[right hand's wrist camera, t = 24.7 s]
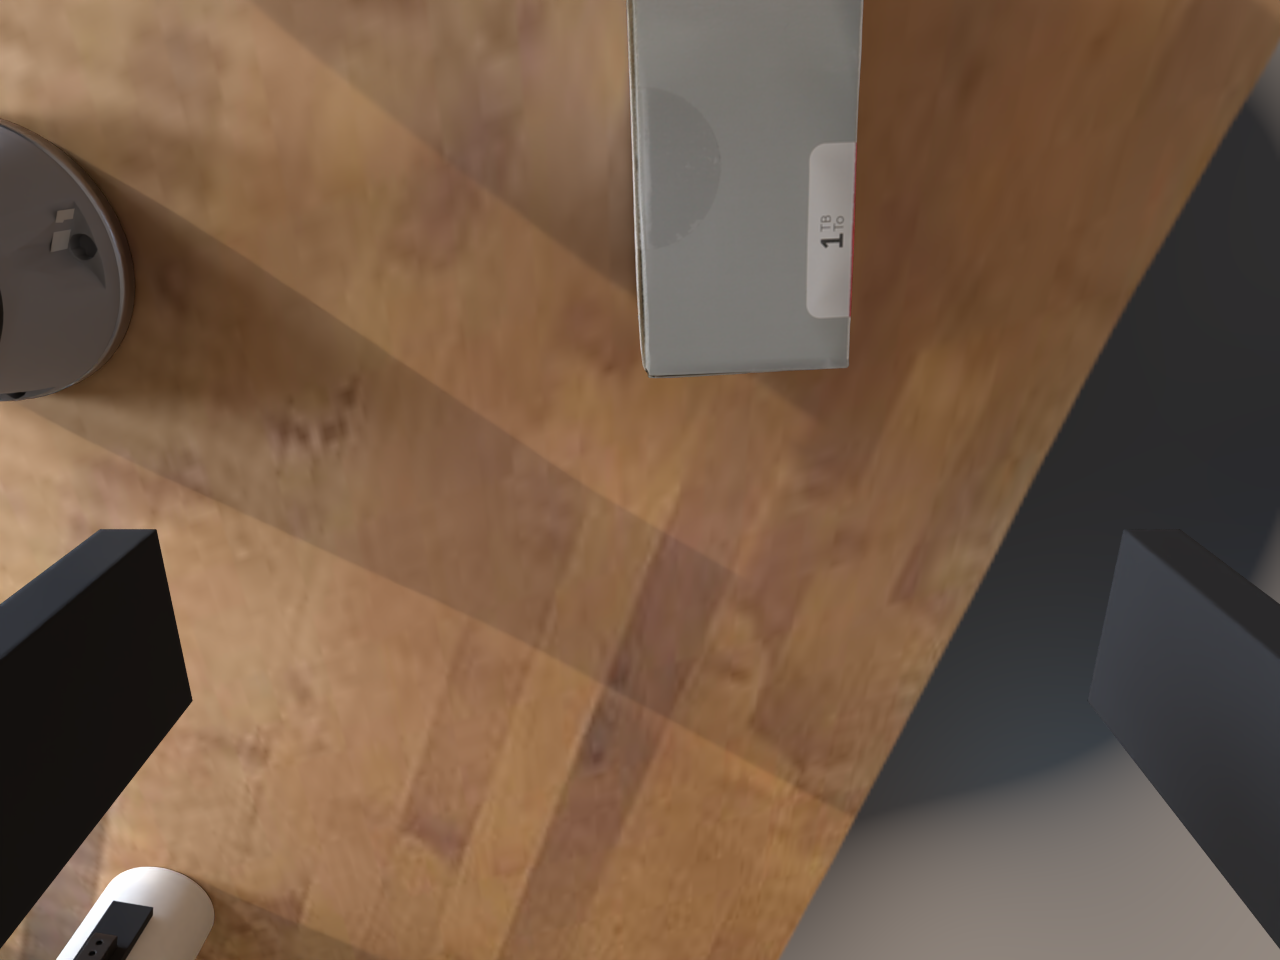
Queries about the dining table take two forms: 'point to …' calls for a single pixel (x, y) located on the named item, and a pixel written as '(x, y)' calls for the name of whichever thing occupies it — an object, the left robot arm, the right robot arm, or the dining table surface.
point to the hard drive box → (744, 182)
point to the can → (155, 914)
